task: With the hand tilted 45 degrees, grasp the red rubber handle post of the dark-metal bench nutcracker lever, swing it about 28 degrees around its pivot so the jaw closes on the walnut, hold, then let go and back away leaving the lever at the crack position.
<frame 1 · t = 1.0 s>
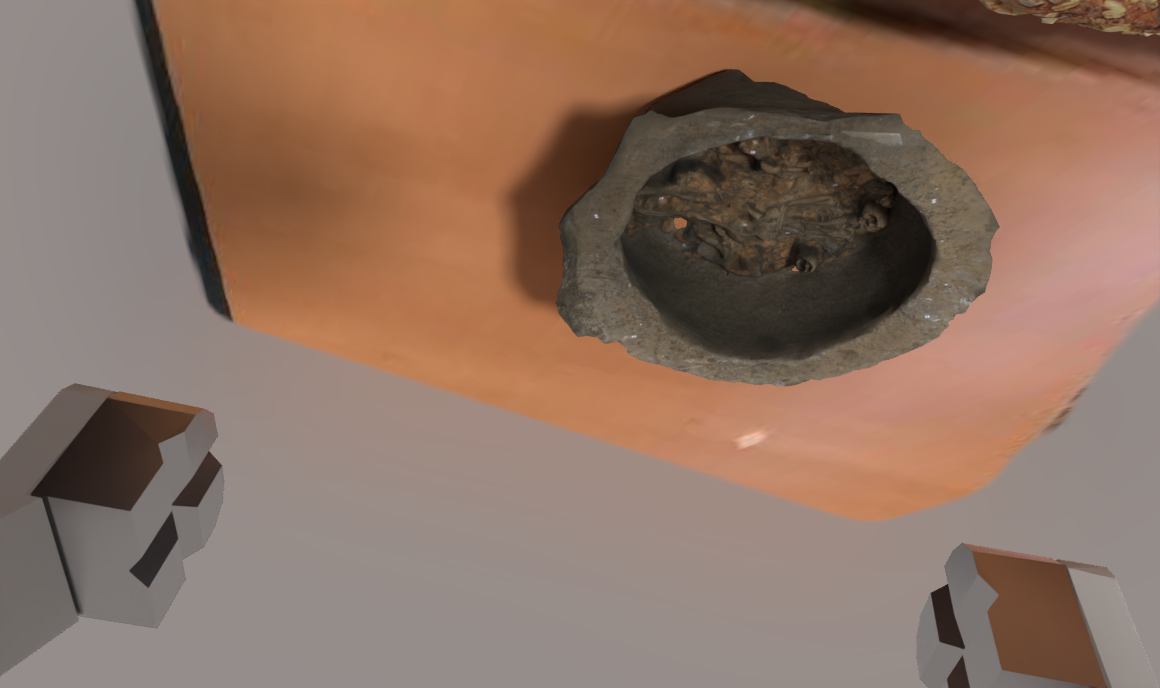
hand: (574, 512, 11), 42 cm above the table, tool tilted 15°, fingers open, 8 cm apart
stone bowl: (776, 187, 62), on the table
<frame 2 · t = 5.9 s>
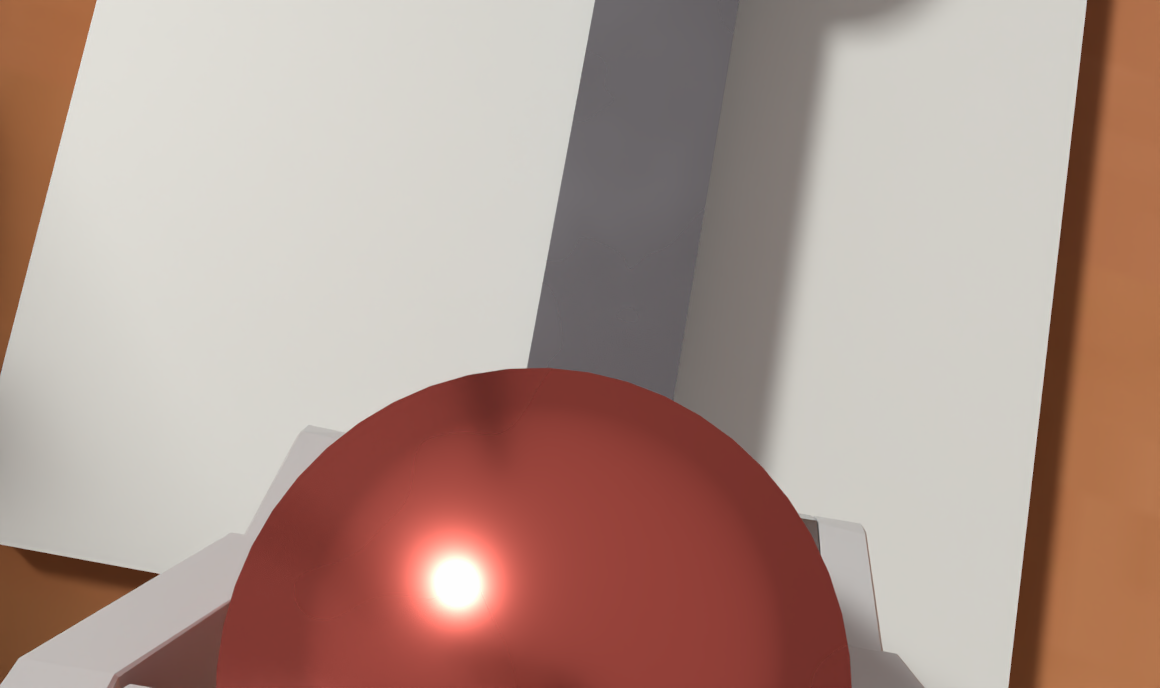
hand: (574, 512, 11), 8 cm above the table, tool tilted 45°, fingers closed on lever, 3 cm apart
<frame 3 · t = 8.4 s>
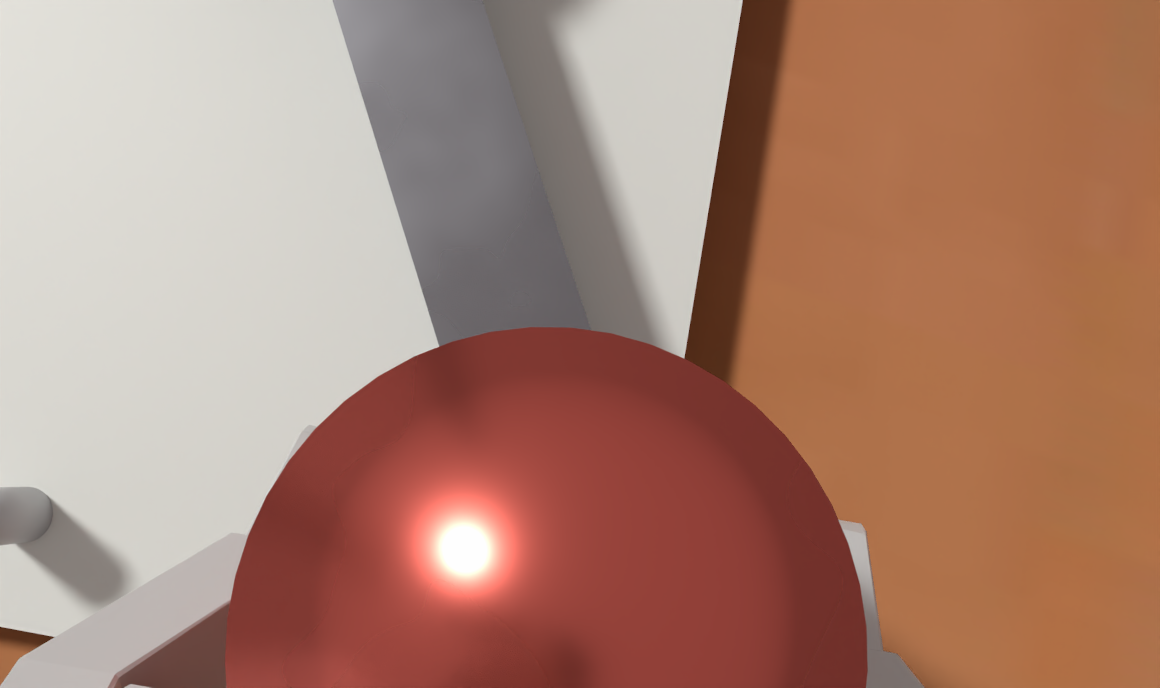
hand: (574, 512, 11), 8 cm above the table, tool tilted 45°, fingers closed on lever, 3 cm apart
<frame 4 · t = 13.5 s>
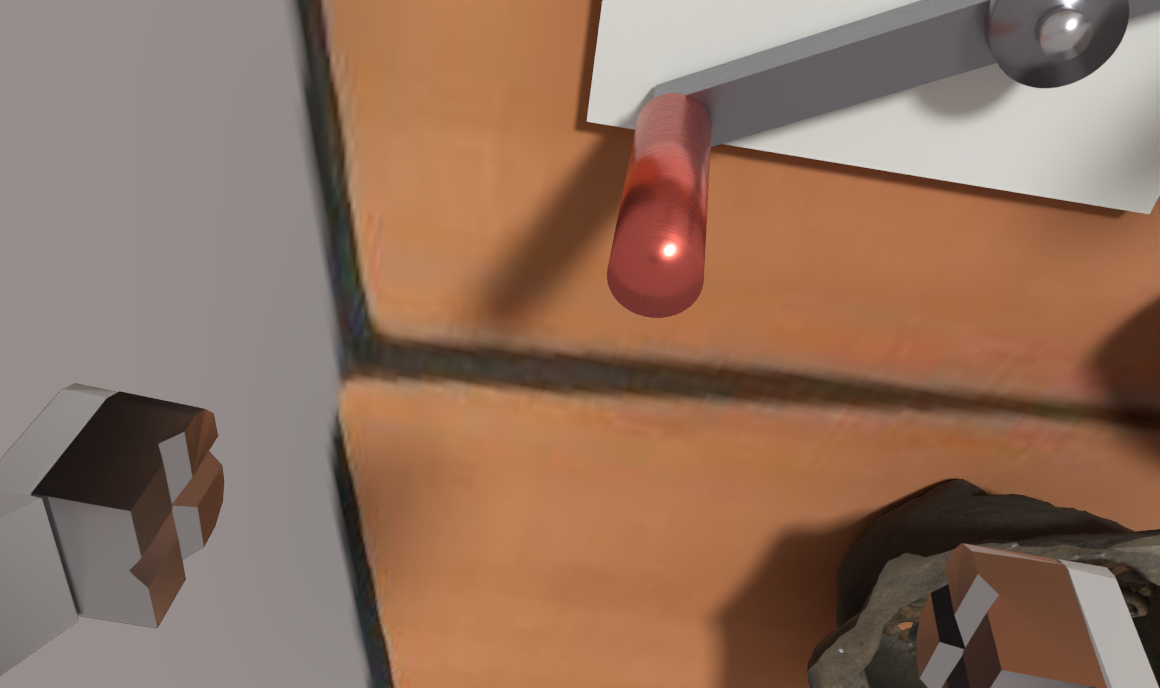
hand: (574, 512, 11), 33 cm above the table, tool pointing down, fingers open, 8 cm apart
lever: (930, 105, 33), point 8 cm above the table, hinge at 28.1°
stone bowl: (1008, 579, 58), on the table
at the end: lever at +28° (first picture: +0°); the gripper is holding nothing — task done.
